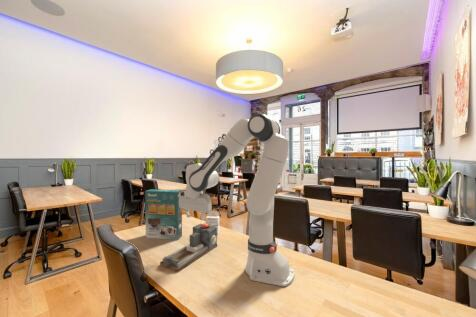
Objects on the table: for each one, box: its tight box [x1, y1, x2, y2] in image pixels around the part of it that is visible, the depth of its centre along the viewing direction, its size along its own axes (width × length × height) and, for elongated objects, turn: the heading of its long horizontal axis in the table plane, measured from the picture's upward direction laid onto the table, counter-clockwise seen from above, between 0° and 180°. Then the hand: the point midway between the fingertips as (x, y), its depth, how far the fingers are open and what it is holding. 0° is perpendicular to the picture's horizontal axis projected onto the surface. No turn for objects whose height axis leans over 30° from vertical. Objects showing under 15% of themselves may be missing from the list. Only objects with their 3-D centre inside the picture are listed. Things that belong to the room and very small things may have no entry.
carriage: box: [186, 232, 203, 253], centre depth 119 cm, size 7×6×8 cm
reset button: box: [200, 222, 208, 228], centre depth 126 cm, size 4×4×2 cm
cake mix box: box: [144, 188, 183, 241], centre depth 140 cm, size 22×6×30 cm, turn 82°
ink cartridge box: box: [205, 210, 220, 236], centre depth 146 cm, size 9×5×15 cm, turn 84°
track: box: [159, 223, 218, 273], centre depth 116 cm, size 12×31×12 cm, turn 150°
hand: (195, 218), depth 118 cm, fingers open, 8 cm apart
